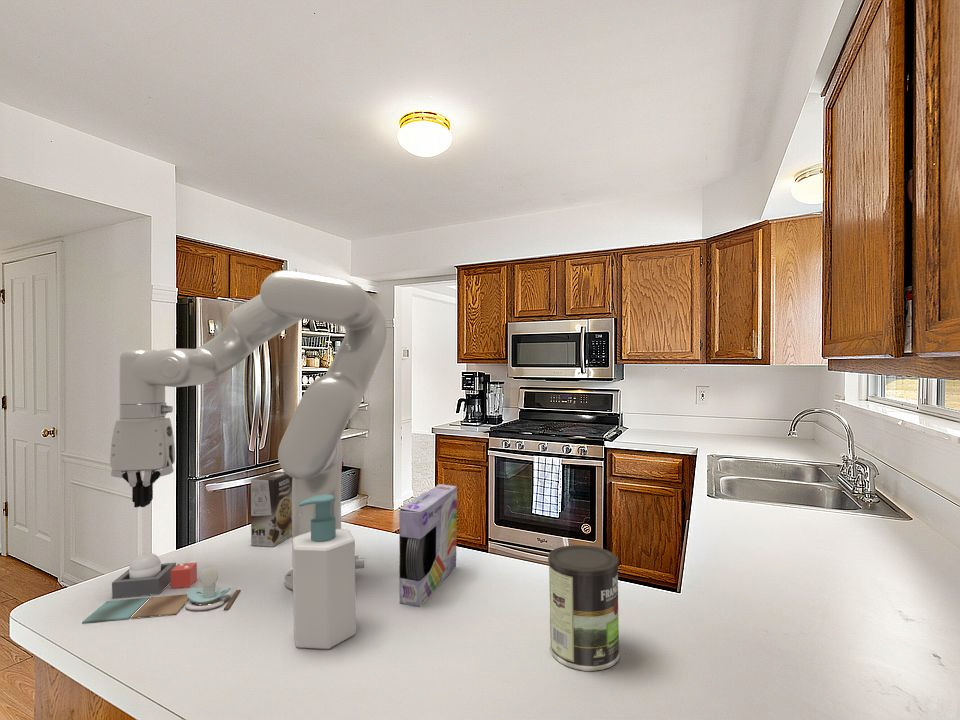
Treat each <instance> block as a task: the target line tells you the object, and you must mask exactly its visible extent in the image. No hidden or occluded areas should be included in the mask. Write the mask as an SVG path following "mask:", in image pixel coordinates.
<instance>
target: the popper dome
mask: <svg viewBox="0 0 960 720" xmlns="http://www.w3.org/2000/svg"><path fill="white" fill-rule="evenodd" d="M161 564H162V562H161V559H160V557H159V556H158V555H157V554H155V553H152V552H144V553H142V554H138V556H136V557H135V558H134V559H133V560H132V561H131V563H130V565H129V568H128V570H129V579H138V578H150V577H156V576H157V575H158V574H159V573H160V572H161Z"/></svg>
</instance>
